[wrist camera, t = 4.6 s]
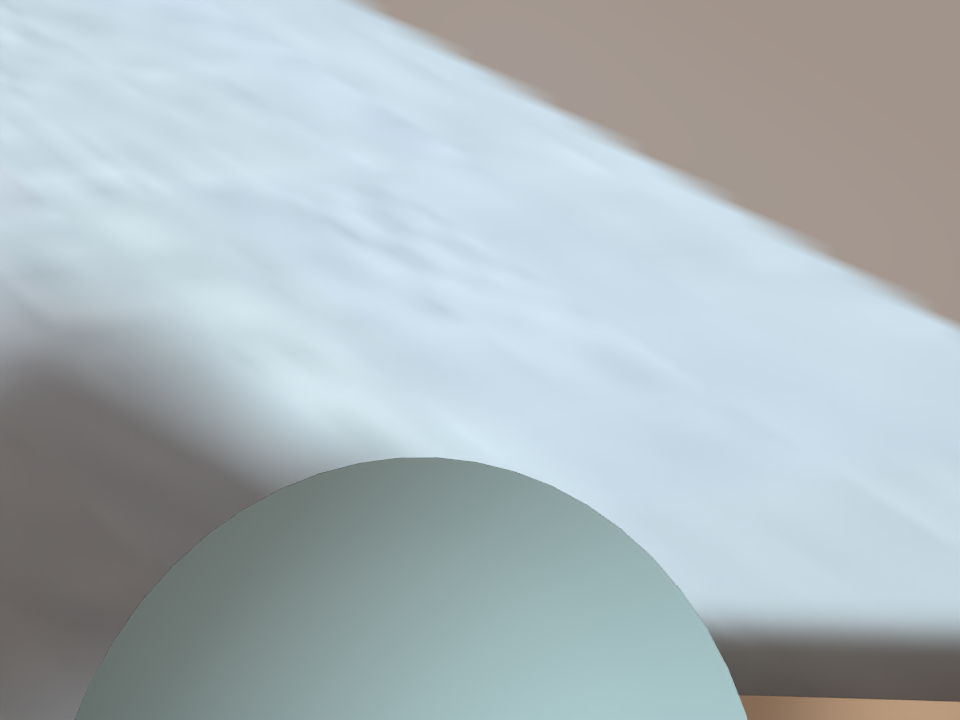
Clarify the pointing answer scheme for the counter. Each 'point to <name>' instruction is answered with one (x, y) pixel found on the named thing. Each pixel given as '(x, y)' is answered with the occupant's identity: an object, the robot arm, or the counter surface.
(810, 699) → the tray
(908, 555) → the counter surface
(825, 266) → the counter surface
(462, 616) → the pale green capsule
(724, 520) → the counter surface
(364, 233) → the counter surface
